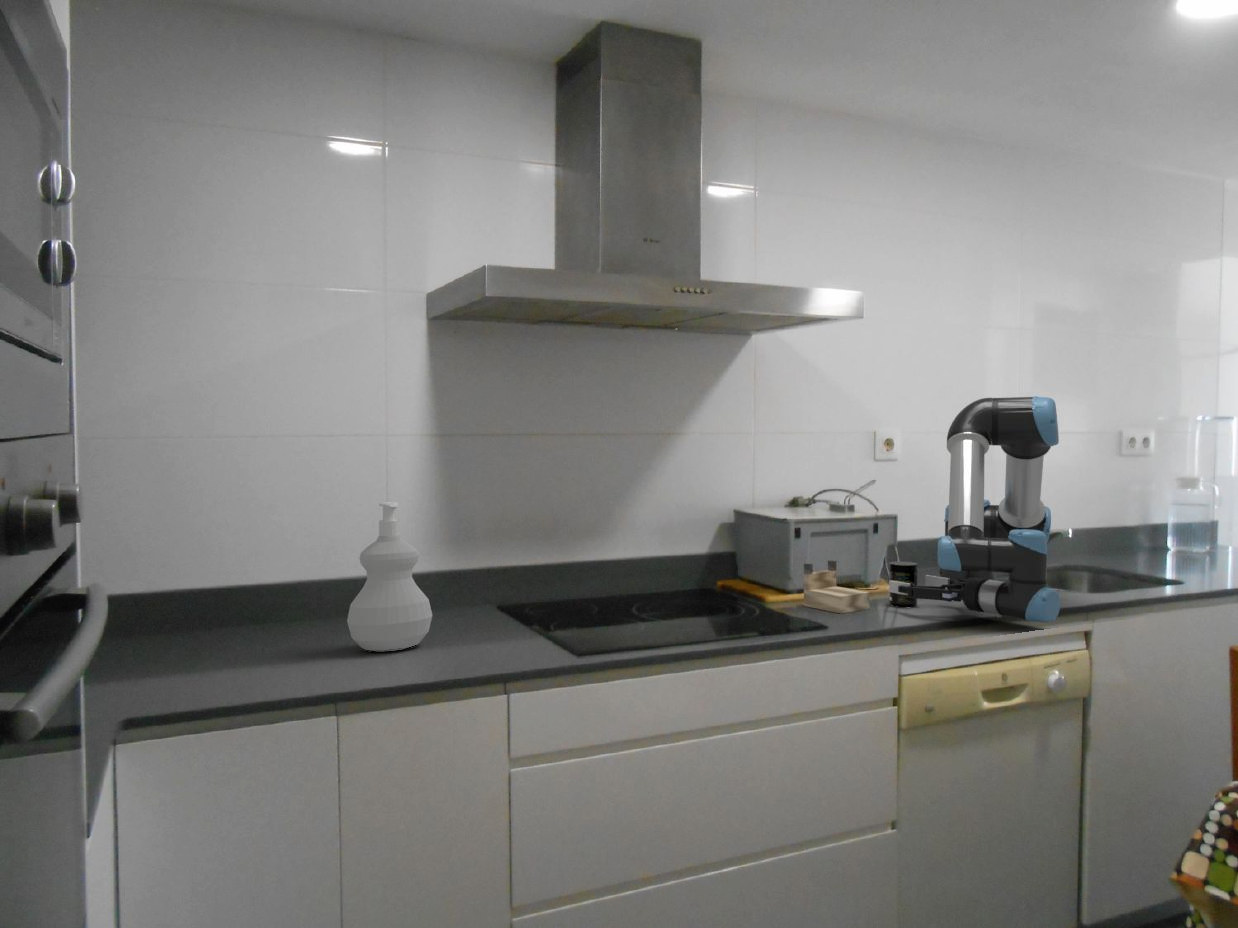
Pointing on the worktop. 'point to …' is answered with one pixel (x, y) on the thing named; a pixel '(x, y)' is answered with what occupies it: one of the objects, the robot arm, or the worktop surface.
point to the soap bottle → (389, 592)
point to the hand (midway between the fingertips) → (908, 583)
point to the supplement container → (902, 574)
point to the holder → (831, 591)
